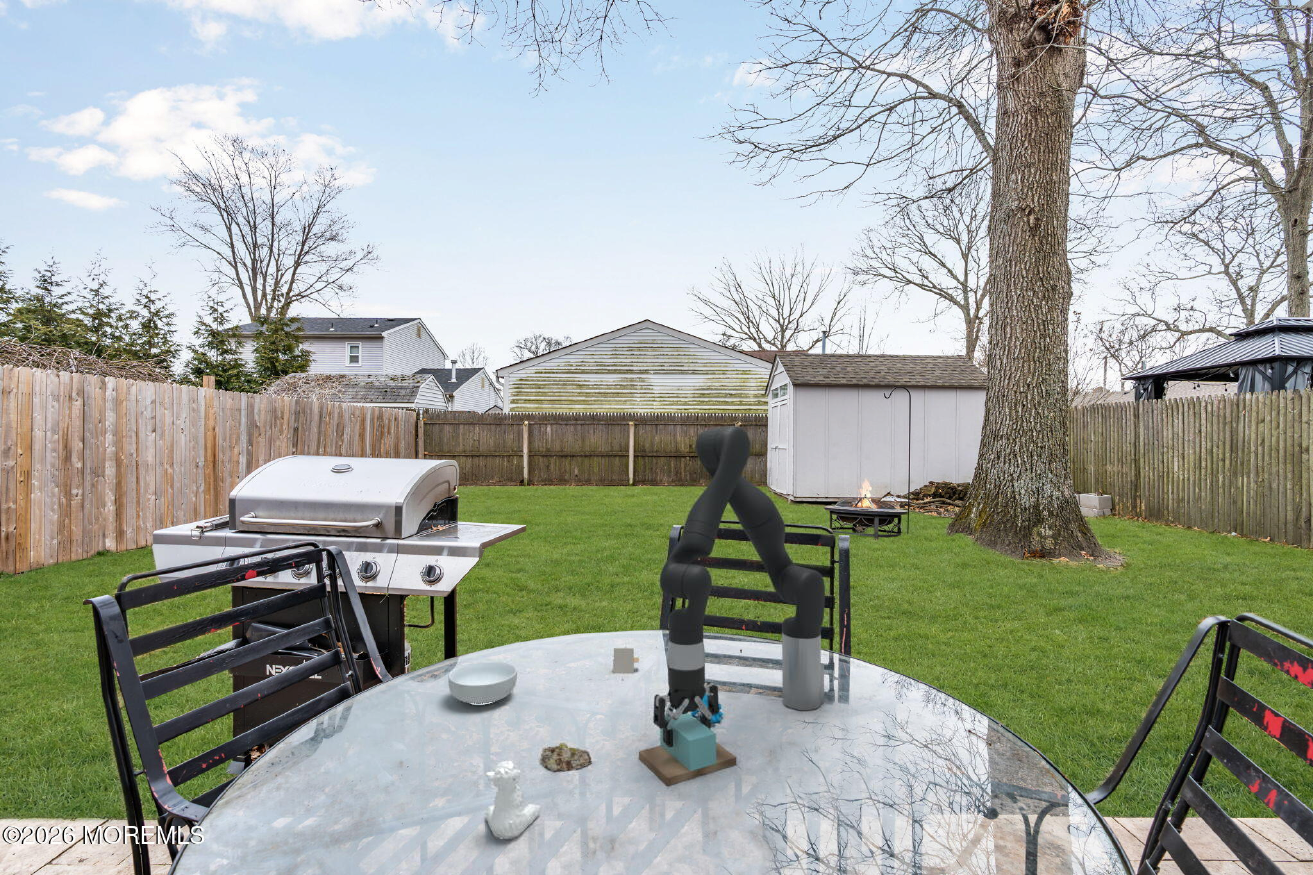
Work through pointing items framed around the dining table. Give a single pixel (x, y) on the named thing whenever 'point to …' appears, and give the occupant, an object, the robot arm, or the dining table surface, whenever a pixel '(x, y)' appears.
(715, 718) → the blue lumpy branched piece
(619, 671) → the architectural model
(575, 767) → the mineral rock
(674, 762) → the base plate
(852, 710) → the dining table surface
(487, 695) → the cereal bowl
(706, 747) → the teal rectangular block
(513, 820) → the white creature statuette
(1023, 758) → the dining table surface
